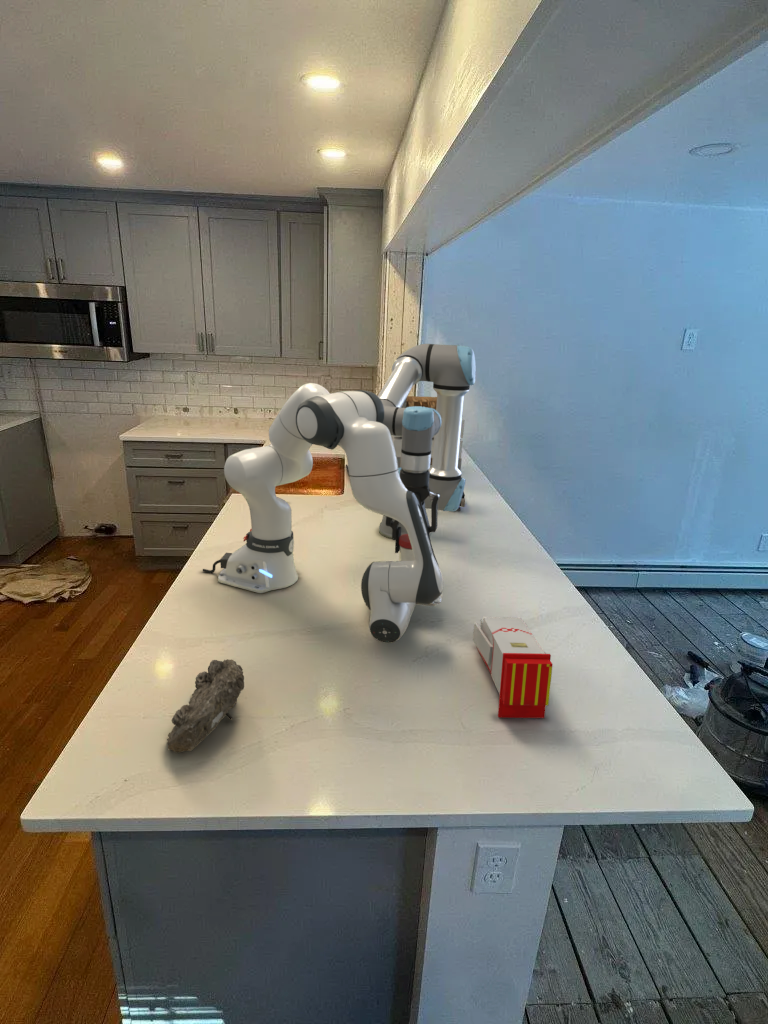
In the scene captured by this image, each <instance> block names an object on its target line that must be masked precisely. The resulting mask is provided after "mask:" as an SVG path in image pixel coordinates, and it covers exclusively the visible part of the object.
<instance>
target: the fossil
mask: <svg viewBox="0 0 768 1024" xmlns="http://www.w3.org/2000/svg"><path fill="white" fill-rule="evenodd" d="M243 670H244V669H243V667H242V665H240V664H237V662H236V661H235V660H234V659H232V658H231V659H227V658H226V659H224V660H223V661H222V660H217V659H212V660H211V661H210V663H209V665H208V666H207V671H201V672H199V673H198V674H197V675H196V676H195V680H194V684H195V685H194V687H195V689H194V690H193V693H192V694H191V697H190V698H189V700H188V704H184V705H182V706H181V707H180V709H177V710H176V711H175V713H174V715H173V716H172V718H171V723H172V724H173V727H172V730H171V731H170V732H168V734H167V738H166V741H167V742H166V745H167V749H168V750H169V751H173V752H174V753H176V754H178V753H182V752H188V751H189V752H192V751H193V750H195V748H196V747H197V746H199V744H200V743H201V742H203V741H204V740H205V739H206V738H207V737H208V736H209V735H210V734H211V733H212V732H214V730H215V729H217V727H218V726H219V724H220V722H221V721H222V720H223V719H224V718H225V716H226V717H227V719H229V720H233V717H232V715H230V714H229V710H230V709H231V708H234V706H235V704H236V703H237V702H238V699H239V697H240V695H241V693H242V691H243V690H245V689H244V688H245V675H244V671H243Z"/></svg>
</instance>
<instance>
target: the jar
mask: <svg viewBox="0 0 768 1024" xmlns="http://www.w3.org/2000/svg"><path fill="white" fill-rule="evenodd" d="M412 560H415V556H414V553H413V549H408V548H404V547H401V546H400V550H399V552H398V561H412Z"/></svg>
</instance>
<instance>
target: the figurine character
mask: <svg viewBox="0 0 768 1024" xmlns="http://www.w3.org/2000/svg"><path fill="white" fill-rule="evenodd" d="M464 491H465V490H464ZM464 491H463V495H462V499H461V502H460V505H459V507H458V509H457V510H458V511H461V510H462V509H461V508H465V505H466V497H465V496H466V494H465V492H464Z"/></svg>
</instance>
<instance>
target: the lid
mask: <svg viewBox="0 0 768 1024" xmlns="http://www.w3.org/2000/svg"><path fill="white" fill-rule="evenodd" d="M399 545H400V546H401V547H404V548H408V549H412V546H411V543H410V539H409V536H408V534H404V535H401V536H400V537H399Z"/></svg>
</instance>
